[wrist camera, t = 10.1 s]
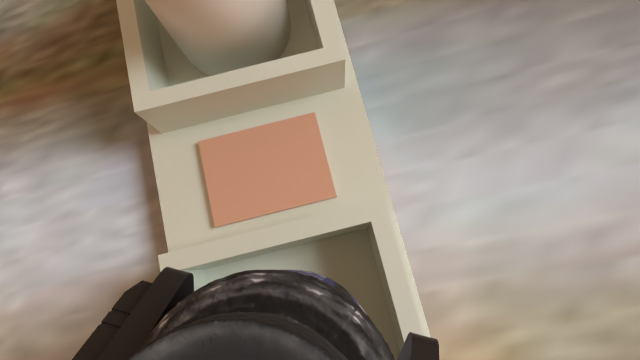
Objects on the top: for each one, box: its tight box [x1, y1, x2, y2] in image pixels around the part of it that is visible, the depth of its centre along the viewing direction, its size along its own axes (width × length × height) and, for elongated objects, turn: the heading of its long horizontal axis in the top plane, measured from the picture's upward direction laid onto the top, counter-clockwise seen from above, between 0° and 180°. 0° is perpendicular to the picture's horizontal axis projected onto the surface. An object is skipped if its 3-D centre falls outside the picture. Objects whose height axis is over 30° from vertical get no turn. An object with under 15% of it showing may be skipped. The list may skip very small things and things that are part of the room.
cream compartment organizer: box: [116, 0, 431, 360], centre depth 16 cm, size 27×11×13 cm, turn 14°
